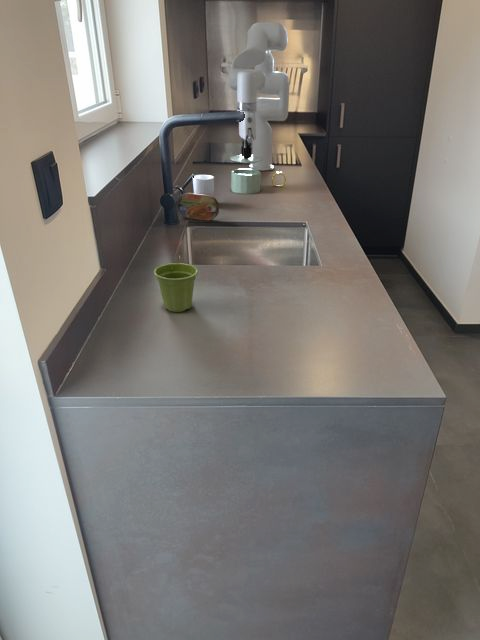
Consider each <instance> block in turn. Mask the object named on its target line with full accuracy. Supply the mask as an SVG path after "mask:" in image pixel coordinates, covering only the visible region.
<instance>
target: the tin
mask: <svg viewBox="0 0 480 640" xmlns="http://www.w3.org/2000/svg"><path fill="white" fill-rule="evenodd" d="M180 196H182V200H181V201H180V202H179V203H178V204H177V203H176V207H177V210H178V213H179V214H180V215H181V216H182V217H184V218H185V219H188V220H189V219H190V220H199V221H205V222H208V221H212V220H214V219H215V218H217V216H218V215H219V213H220V204H219V200H217V199H216V198H215V197H214V196H211V195H204V194H195V193H194V192H186V193H183V194H181V195H180Z"/></svg>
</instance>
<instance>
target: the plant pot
mask: <svg viewBox="0 0 480 640" xmlns="http://www.w3.org/2000/svg"><path fill="white" fill-rule="evenodd" d="M198 272H199V270H198V268H197V267H196V266H194V265H192V264H188V263H182V262H181V263H179V262H172V263H167V264H162V265H159V266H157V267H155V269H154V270H153V275H154V276H155V277H156V280H157V281H158V285H159V289H160V294H161V297H162V302H163V306H164V307H163V308H164V309H167V310H168V311H170V312H173V313H178V312H179V313H180V312H185V311H186V310H189V309H191V308H192V306H193V296H194V286H195V280H196V276H197V275H198Z"/></svg>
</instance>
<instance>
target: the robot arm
mask: <svg viewBox="0 0 480 640" xmlns="http://www.w3.org/2000/svg"><path fill="white" fill-rule="evenodd" d="M246 36H247V37H246V38H247V41H246V46H245V49H243V50H242V51H240V52H239V53H238V54H236V55H235V56H234V58H233V59H232V61H231V63H230V68H229V72H228V86H229V87H230V89H231V90H233V91H236V111H237V112H238V111H240V112H244V114H245V118H244V120H243V121H241V122H239V121H238V135H239V137H240V138H241V144H240V145H241V148H240V149H241V150H240V151H241V152H240V155H241V156H242V157H243V158H251V155H255V156H259V157H261V158H262V161H259V162H255V163H250V164H249V165H248V169H253V170H258V171H260V172H261V171H264V172H265V171H273V170H274V169H275V165H273V164H272V152H273V151H272V150H273V129H272V127H271V125H270V123H269V122H268V121H272V122H273V121H274V122H284V121H286V120H287V119H288V116H289V106H290V105H289V104H290V103H289V102H290V78H289V75H288V74H287V73H286V72H284V71H275V70H274V62H275V60H274V56H273V54H272V53H271V51H272V52H273V51H274V52H283V51H285V50H286V49H287V46H288V40H289V37H288V31H287V29H286V27H285V26H284V25H283V24H281V23H279V22H265V21H264V22H263V21H262V22H261V21H259V22H255V23H253V24H252V25H251V26H250V28H249V29H248V30H247V34H246ZM253 67H254V68H253ZM250 68H253V69H250ZM258 94H259V95H263V96H264V95H265V96H277V98H276V97H275V98H273V97H258ZM243 146H244V148H243Z"/></svg>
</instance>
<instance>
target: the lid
mask: <svg viewBox="0 0 480 640" xmlns="http://www.w3.org/2000/svg"><path fill="white" fill-rule="evenodd" d="M243 148H244V146H243ZM229 159H230V161H233V162H236V163H240V164H252V163H255V162H259V161H262V158H261V157H259V156H255V155H252V154H251V158H243V157H242V156H241V154H236V155H231V156H230V158H229Z"/></svg>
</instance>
